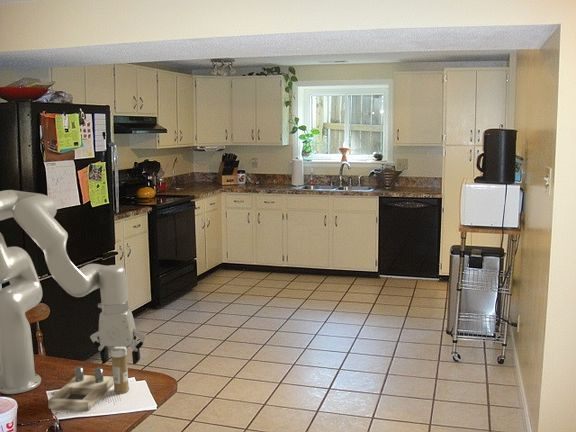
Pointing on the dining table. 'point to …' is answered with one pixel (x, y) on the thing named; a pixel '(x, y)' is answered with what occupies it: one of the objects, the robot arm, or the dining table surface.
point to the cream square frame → (81, 391)
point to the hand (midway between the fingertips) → (120, 362)
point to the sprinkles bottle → (119, 369)
